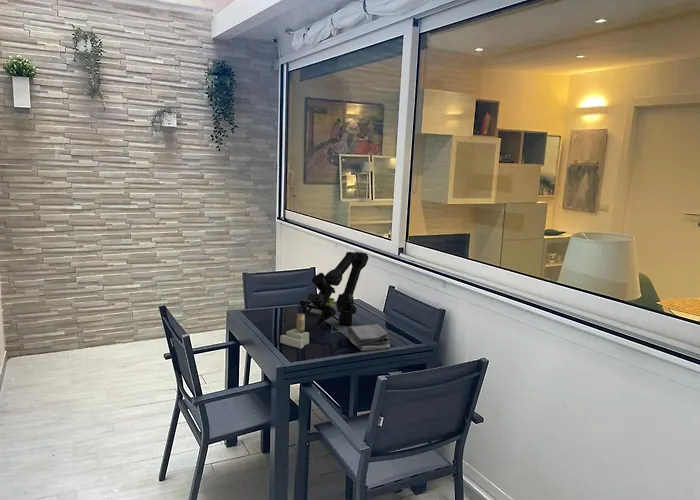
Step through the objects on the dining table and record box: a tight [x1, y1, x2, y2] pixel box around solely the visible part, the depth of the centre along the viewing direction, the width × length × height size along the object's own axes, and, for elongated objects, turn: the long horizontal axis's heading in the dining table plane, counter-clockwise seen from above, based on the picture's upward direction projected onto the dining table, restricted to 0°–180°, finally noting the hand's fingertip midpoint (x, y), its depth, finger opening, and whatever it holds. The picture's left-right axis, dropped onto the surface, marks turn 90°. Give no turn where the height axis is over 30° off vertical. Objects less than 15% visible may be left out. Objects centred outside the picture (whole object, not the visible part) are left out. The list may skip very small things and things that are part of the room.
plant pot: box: [319, 297, 336, 314], centre depth 277 cm, size 9×9×9 cm
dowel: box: [296, 313, 306, 333], centre depth 231 cm, size 4×4×13 cm
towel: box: [347, 323, 391, 352], centre depth 231 cm, size 15×18×8 cm
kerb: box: [279, 334, 305, 350], centre depth 227 cm, size 2×12×4 cm, turn 55°
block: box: [285, 328, 310, 346], centre depth 230 cm, size 6×9×5 cm, turn 55°
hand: (309, 323), depth 236 cm, fingers open, 9 cm apart
